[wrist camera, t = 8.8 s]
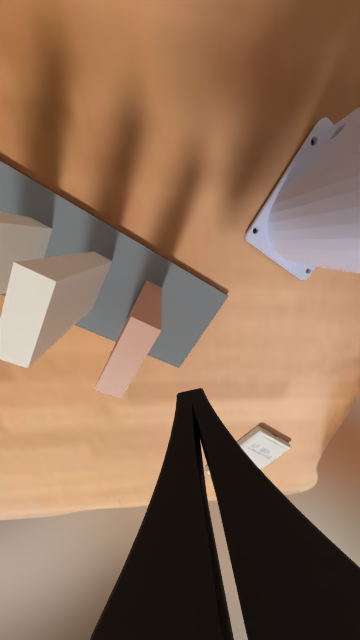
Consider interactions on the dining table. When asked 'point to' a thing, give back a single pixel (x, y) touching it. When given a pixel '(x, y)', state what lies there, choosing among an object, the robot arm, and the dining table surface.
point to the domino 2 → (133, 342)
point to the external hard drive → (261, 447)
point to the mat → (117, 269)
